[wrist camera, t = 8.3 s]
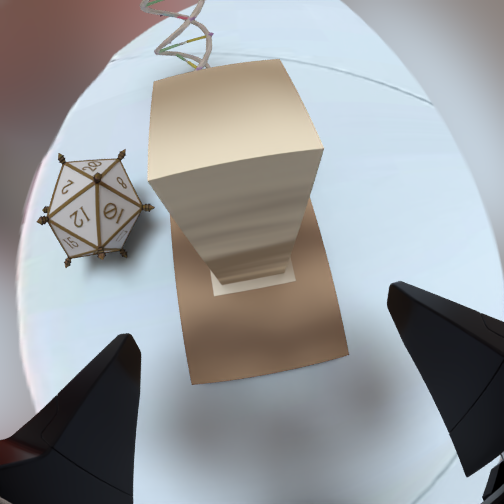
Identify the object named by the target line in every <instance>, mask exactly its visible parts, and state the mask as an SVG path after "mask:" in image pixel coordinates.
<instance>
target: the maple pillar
mask: <svg viewBox="0 0 504 504" xmlns="http://www.w3.org/2000/svg"><path fill="white" fill-rule="evenodd" d="M323 150H324V147H323V145H322V142H321V140H320V138H319V136H318V133H317V131H316V129H315V127H314V125H313V123H312V120H311V118H310V116H309V114H308V112H307V110H306V108H305V106H304V104H303V102H302V100H301V98H300V96H299V94H298V92H297V90H296V88H295V86H294V84H293V82H292V81H291V79H290V77H289V75H288V73H287V71H286V70H285V68H284V66H283V64H282V62H281V61H280V59H273V60H262V61H252V62H244V63H237V64H230V65H224V66H218V67H212V68H207V69H202V70H197V71H193V72H188V73H184V74H180V75H176V76H172V77H168V78H165V79H161V80H158V81H154V83H153V92H152V102H151V113H150V127H149V145H148V182H149V184H150V185H151V187H152V188H153V190H154V191H155V193H156V194H157V196H158V197H159V199H160V200H161V202H162V203H163V204H164V206H165V207H166V209H167V210H168V212H169V213H170V215H171V216H172V217H173V219H174V220H175V222H176V223H177V224H178V226H179V227H180V229H181V230H182V232H183V233H184V234H185V236H186V237H187V239H188V240H189V241H190V243H191V244H192V245H193V247H194V248H195V250H196V251H197V252H198V254H199V255H200V256H201V258H202V259H203V261H204V262H205V263H206V265H207V266H208V267H209V269H210V270H211V271H212V273H213V274H214V275H215V277H216V278H217V279H218V281H219V282H220V283H221V285H226V284H231V283H236V282H242V281H247V280H252V279H257V278H262V277H267V276H272V275H277V274H282V273H285V270H286V267H287V264H288V261H289V258H290V255H291V252H292V249H293V246H294V243H295V240H296V237H297V234H298V231H299V228H300V225H301V222H302V219H303V216H304V213H305V210H306V206H307V203H308V200H309V197H310V194H311V190H312V187H313V184H314V181H315V177H316V174H317V171H318V167H319V164H320V161H321V157H322V154H323Z"/></svg>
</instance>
